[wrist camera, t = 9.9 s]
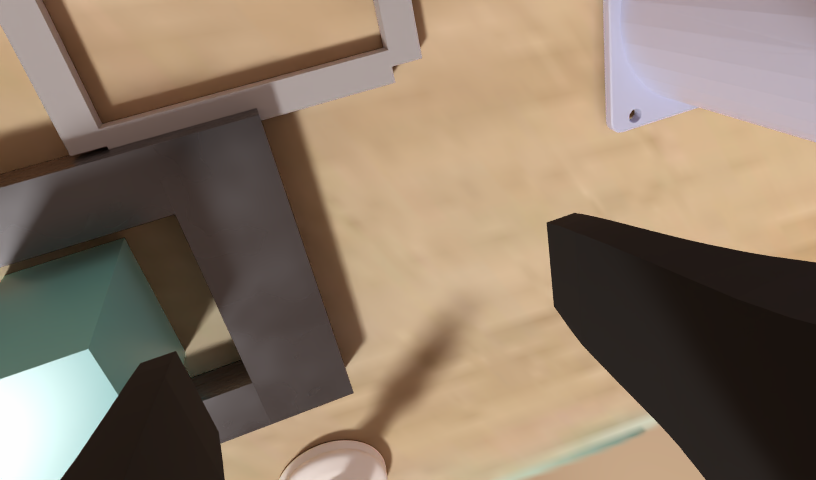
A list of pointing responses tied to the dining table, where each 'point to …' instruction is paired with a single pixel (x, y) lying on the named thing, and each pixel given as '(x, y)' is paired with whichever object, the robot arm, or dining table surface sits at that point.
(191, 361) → the dining table surface
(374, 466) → the chess piece
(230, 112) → the open picture frame
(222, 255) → the port block
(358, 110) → the dining table surface
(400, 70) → the dining table surface
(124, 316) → the plug
